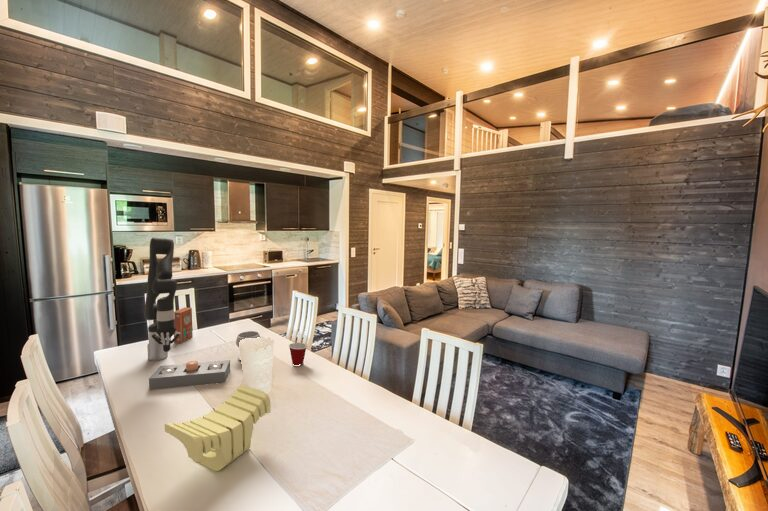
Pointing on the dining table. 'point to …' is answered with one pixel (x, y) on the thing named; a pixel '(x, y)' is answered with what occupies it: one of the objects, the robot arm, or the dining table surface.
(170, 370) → the left knob
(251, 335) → the chalice
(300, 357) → the plastic cup
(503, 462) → the dining table surface
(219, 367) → the right knob
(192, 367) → the middle knob
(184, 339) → the orange cracker box
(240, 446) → the slatted curved stool
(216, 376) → the console
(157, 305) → the robot arm
